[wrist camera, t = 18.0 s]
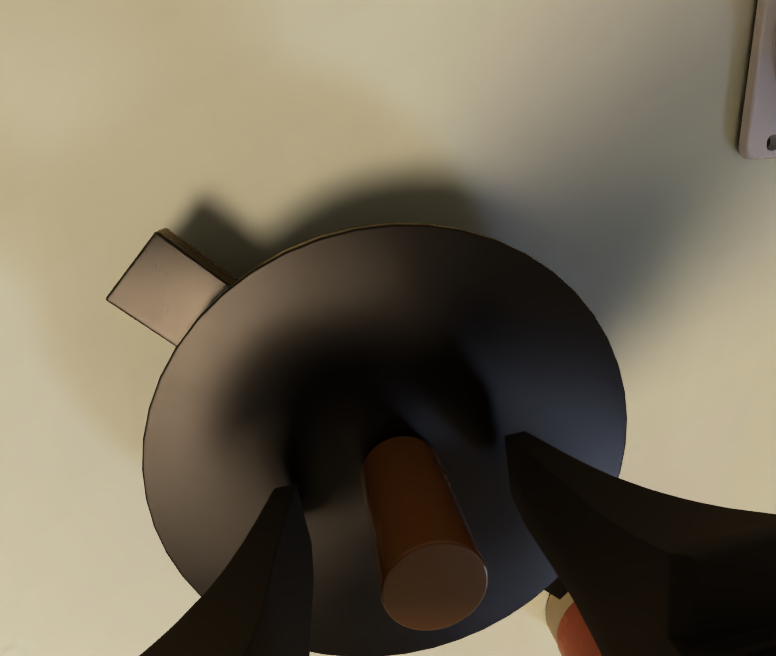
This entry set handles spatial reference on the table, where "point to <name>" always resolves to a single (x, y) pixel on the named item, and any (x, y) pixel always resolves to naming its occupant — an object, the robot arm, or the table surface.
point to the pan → (182, 296)
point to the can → (569, 628)
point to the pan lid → (381, 425)
